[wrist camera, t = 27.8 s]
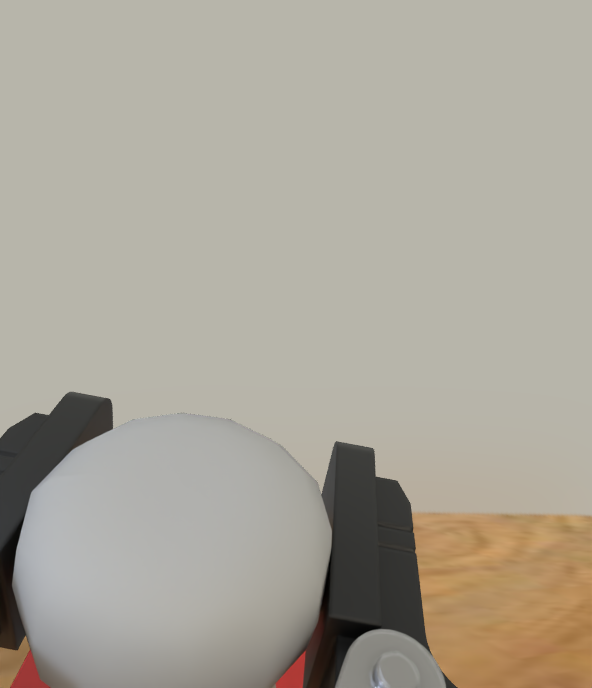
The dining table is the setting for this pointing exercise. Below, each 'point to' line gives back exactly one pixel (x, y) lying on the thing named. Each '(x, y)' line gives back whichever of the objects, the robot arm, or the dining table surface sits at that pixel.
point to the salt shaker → (172, 559)
